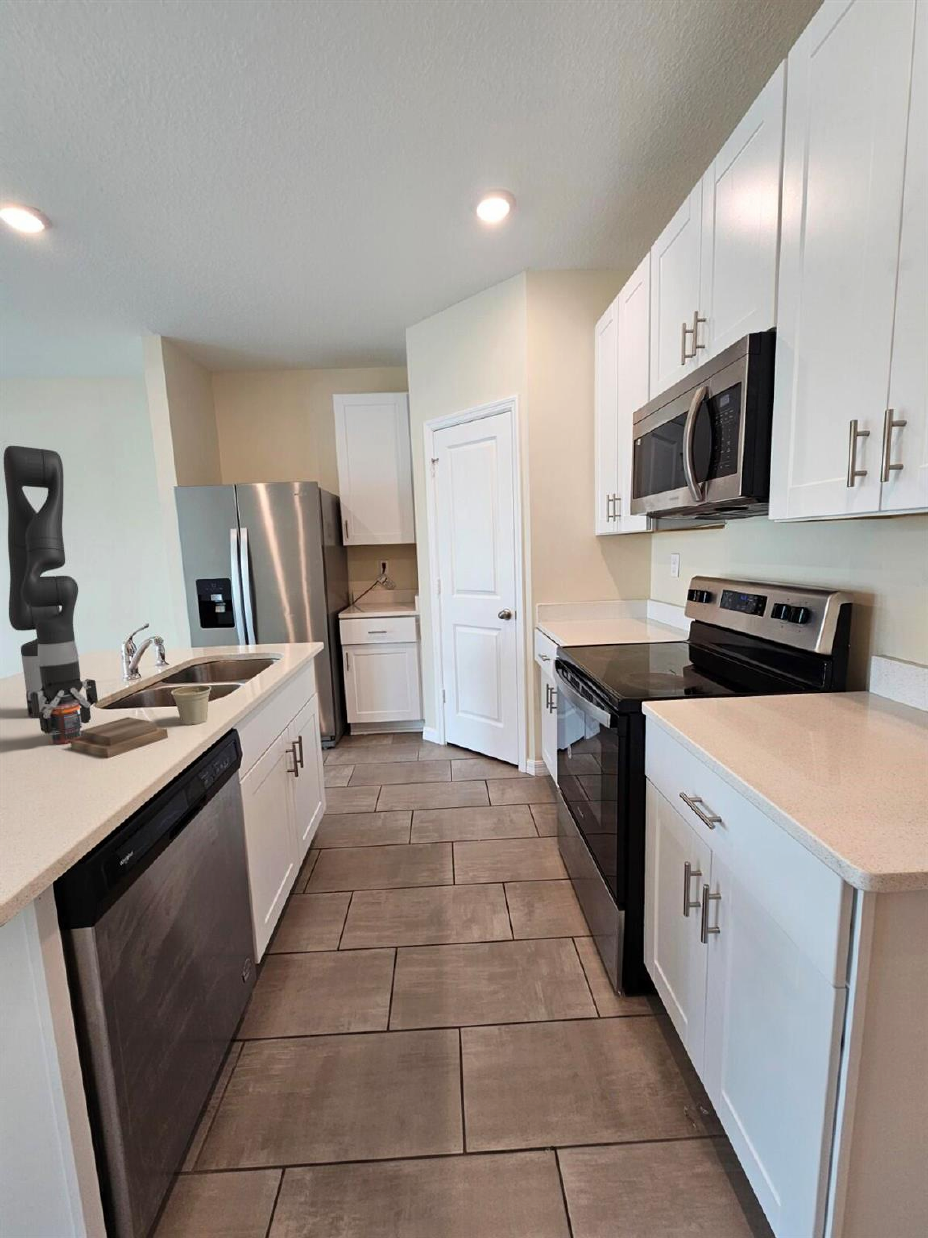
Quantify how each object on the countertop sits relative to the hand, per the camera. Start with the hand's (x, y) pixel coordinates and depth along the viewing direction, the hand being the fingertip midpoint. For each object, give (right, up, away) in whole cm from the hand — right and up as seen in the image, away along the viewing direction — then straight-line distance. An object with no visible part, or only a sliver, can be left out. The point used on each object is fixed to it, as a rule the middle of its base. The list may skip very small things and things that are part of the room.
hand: (67, 727), depth 129 cm
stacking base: (+14, -3, -2) cm, 15 cm away
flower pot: (+24, -1, +13) cm, 27 cm away
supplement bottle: (0, -3, 0) cm, 3 cm away
